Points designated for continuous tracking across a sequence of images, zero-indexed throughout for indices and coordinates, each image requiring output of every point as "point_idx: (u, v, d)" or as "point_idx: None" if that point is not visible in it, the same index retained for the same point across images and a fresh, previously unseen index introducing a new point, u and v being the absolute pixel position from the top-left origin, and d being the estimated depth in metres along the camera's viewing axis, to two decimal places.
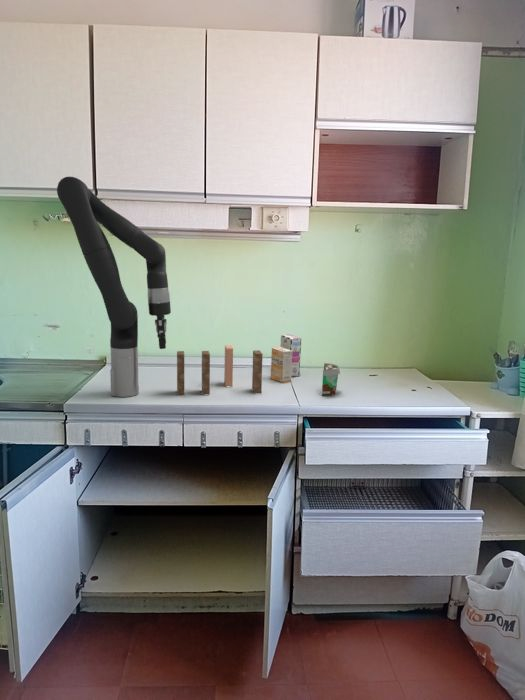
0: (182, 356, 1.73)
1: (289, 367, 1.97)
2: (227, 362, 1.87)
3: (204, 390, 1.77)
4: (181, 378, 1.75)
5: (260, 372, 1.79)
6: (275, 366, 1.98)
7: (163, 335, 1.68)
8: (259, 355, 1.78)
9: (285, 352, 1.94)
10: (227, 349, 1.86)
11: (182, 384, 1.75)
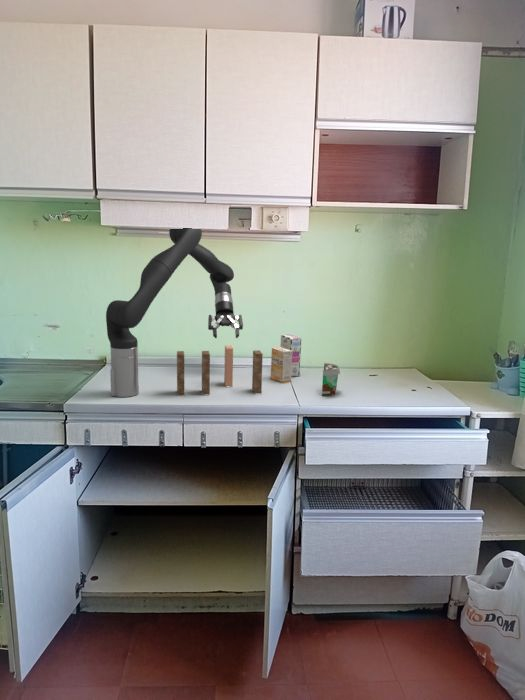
0: (182, 356, 1.73)
1: (289, 367, 1.97)
2: (227, 362, 1.87)
3: (204, 390, 1.77)
4: (181, 378, 1.75)
5: (260, 372, 1.79)
6: (275, 366, 1.98)
7: (242, 327, 2.04)
8: (259, 355, 1.78)
9: (285, 352, 1.94)
10: (227, 349, 1.86)
11: (182, 384, 1.75)
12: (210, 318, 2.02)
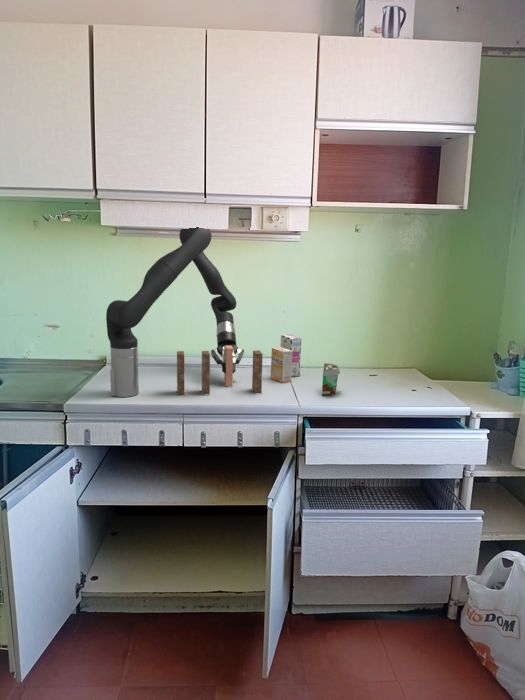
0: (182, 356, 1.73)
1: (289, 367, 1.97)
2: (227, 362, 1.87)
3: (204, 390, 1.77)
4: (181, 378, 1.75)
5: (260, 372, 1.79)
6: (275, 366, 1.98)
7: (238, 362, 1.93)
8: (259, 355, 1.78)
9: (285, 352, 1.94)
10: (227, 349, 1.86)
11: (182, 384, 1.75)
12: (214, 353, 1.91)
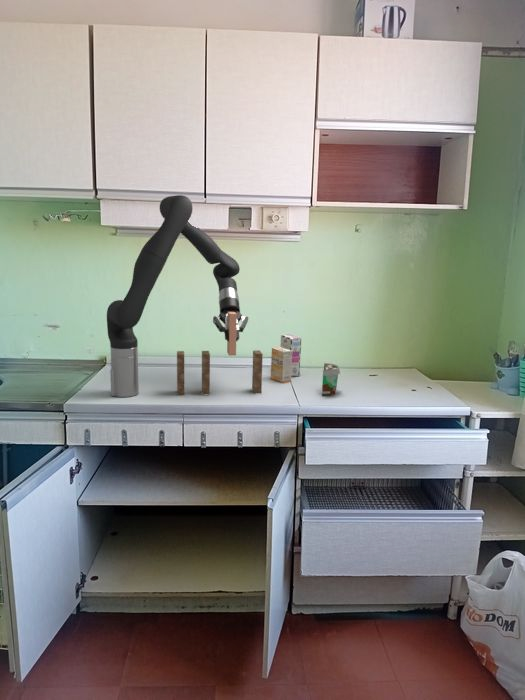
0: (182, 356, 1.73)
1: (289, 367, 1.97)
2: (230, 329, 1.75)
3: (204, 390, 1.77)
4: (181, 378, 1.75)
5: (260, 372, 1.79)
6: (275, 366, 1.98)
7: (242, 330, 1.81)
8: (259, 355, 1.78)
9: (285, 352, 1.94)
10: (230, 314, 1.74)
11: (182, 384, 1.75)
12: (217, 319, 1.79)
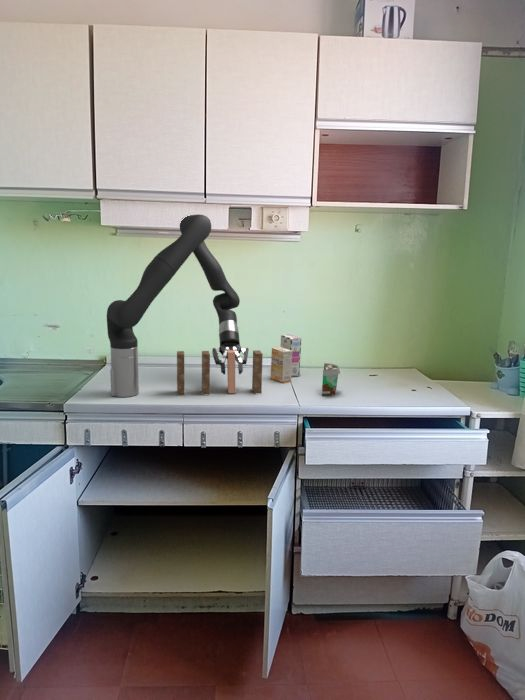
0: (182, 356, 1.73)
1: (289, 367, 1.97)
2: (229, 367, 1.78)
3: (204, 390, 1.77)
4: (181, 378, 1.75)
5: (260, 372, 1.79)
6: (275, 366, 1.98)
7: (246, 362, 1.83)
8: (259, 355, 1.78)
9: (285, 352, 1.94)
10: (229, 353, 1.77)
11: (182, 384, 1.75)
12: (215, 352, 1.81)
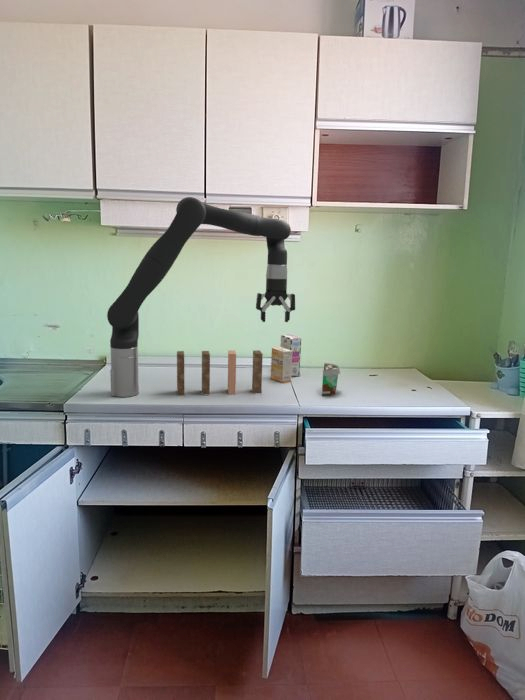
0: (182, 356, 1.73)
1: (289, 367, 1.97)
2: (230, 368, 1.77)
3: (204, 390, 1.77)
4: (181, 378, 1.75)
5: (260, 372, 1.79)
6: (275, 366, 1.98)
7: None
8: (259, 355, 1.78)
9: (285, 352, 1.94)
10: (230, 354, 1.76)
11: (182, 384, 1.75)
12: (260, 298, 1.77)
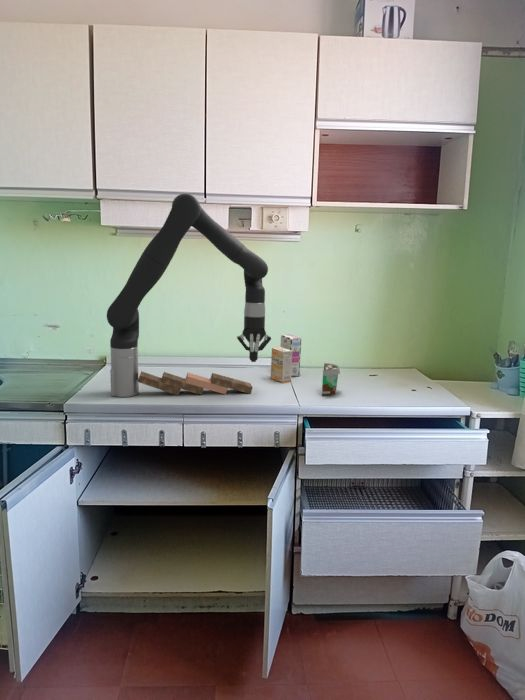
0: (141, 377, 1.72)
1: (289, 367, 1.97)
2: (200, 386, 1.77)
3: (197, 392, 1.77)
4: (162, 386, 1.74)
5: (231, 383, 1.78)
6: (275, 366, 1.98)
7: None
8: (214, 380, 1.77)
9: (285, 352, 1.94)
10: (187, 382, 1.76)
11: (169, 387, 1.74)
12: (241, 341, 1.78)
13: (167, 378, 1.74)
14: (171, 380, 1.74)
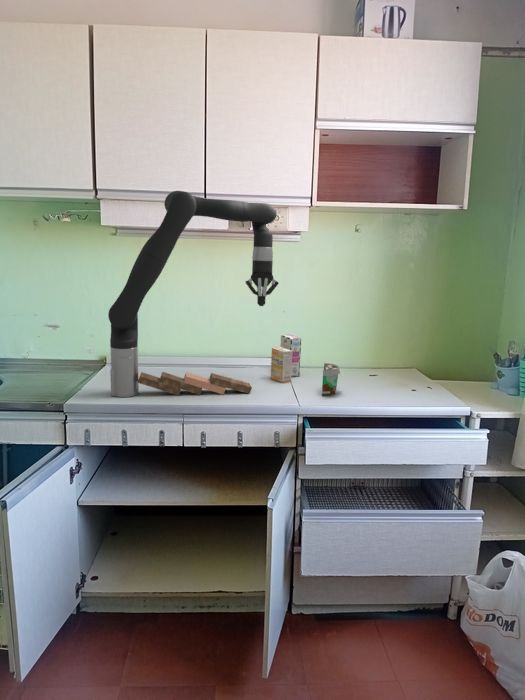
0: (141, 378, 1.72)
1: (289, 367, 1.97)
2: (198, 385, 1.77)
3: (195, 392, 1.77)
4: (162, 386, 1.74)
5: (230, 383, 1.78)
6: (275, 366, 1.98)
7: None
8: (213, 380, 1.77)
9: (285, 352, 1.94)
10: (185, 382, 1.76)
11: (169, 387, 1.75)
12: (250, 285, 1.83)
13: (165, 378, 1.74)
14: (169, 380, 1.74)
